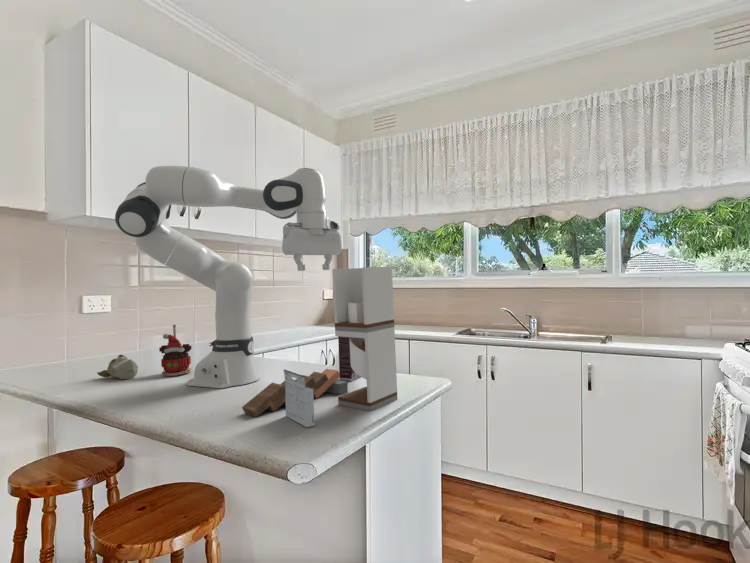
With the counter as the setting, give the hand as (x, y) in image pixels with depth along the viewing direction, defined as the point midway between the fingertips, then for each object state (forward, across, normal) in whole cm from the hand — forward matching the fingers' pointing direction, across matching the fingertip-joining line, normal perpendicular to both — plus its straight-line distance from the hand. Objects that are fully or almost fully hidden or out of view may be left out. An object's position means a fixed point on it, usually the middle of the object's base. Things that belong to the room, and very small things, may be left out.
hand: (314, 270), depth 131 cm
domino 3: (+34, -18, -6) cm, 39 cm away
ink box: (+35, -22, -20) cm, 46 cm away
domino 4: (+34, -13, -6) cm, 37 cm away
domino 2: (+34, -23, -6) cm, 42 cm away
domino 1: (+34, -28, -6) cm, 44 cm away
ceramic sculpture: (+36, -31, +72) cm, 86 cm away
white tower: (+35, -2, -23) cm, 42 cm away
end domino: (+34, -9, -6) cm, 36 cm away
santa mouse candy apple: (+35, -17, +60) cm, 71 cm away
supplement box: (+35, +14, 0) cm, 38 cm away
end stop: (+35, -1, -6) cm, 36 cm away
